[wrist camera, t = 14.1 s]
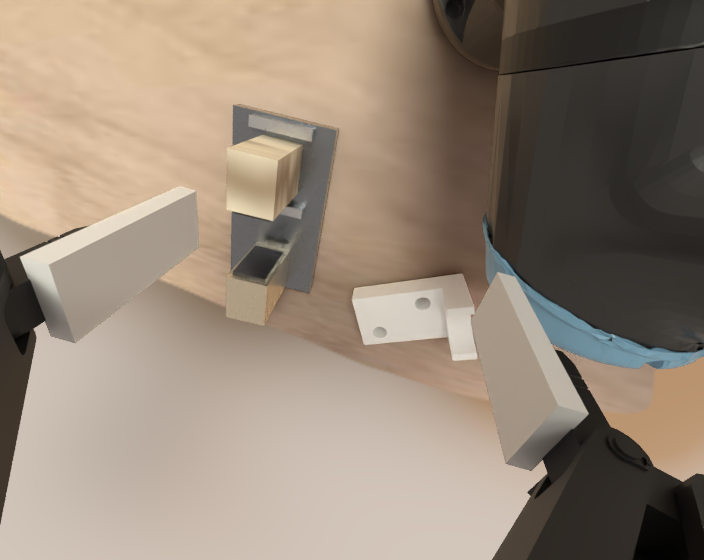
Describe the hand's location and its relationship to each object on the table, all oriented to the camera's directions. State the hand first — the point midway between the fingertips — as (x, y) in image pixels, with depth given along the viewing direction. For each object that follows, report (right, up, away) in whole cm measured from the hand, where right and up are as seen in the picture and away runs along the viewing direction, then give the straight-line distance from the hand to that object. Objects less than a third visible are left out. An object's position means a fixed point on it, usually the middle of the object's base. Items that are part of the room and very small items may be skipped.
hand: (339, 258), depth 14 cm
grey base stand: (-8, +7, +23) cm, 25 cm away
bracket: (+8, -3, +28) cm, 29 cm away
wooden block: (-7, +11, +19) cm, 23 cm away
